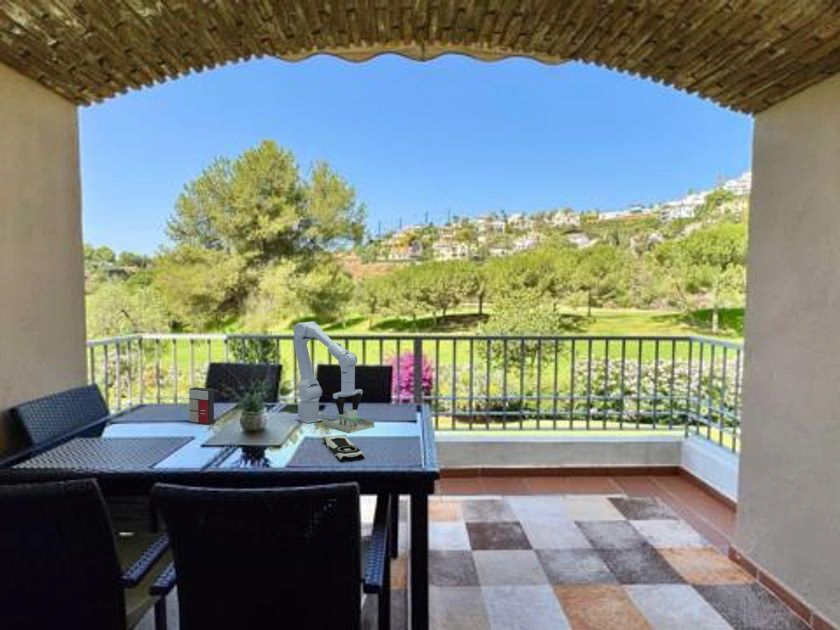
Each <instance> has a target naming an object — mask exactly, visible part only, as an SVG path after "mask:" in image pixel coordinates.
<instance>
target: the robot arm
mask: <svg viewBox="0 0 840 630" xmlns="http://www.w3.org/2000/svg"><path fill="white" fill-rule="evenodd" d="M292 331H293V335H294V336H293V346H294V351H295V355H296V359H297V360H296V361H297V365H298V369H299V375H300V378H301V381H300V383H299V384H298V397H299V399H300V401H299V402H298V405H297V418H296V419H298V420H297V421H299V420H300V422H303V423H306V424H312V423H316V422H320V421H321V422H322V420H323V419H324V418H320V415H319V414H320V413H319V412H320V409H319V408H320V407H319V406H320V403H319V402H320V401H319V400H320V397H322V394H323V389H322V387H321V386H320V383H319V381H318V380H317V379H316V378H315V376H314V371H313V367H312V363H311V359H310V358H311V357H310V353H309V347H308V342H309V341H311V339H312V338H315V339H317V340H318V341H319V342H320V343H322V344H323V345H324V346H325V347H326V348H327V349H328V350H327V351H328V353H330V355H331V356H332V357H333V358H335V359H336V360H337V362H338V365H339V367H340V373H341V375H340V376H341V377H340V378H341V379H340V381H341V383H340V385H341V386H340V387H341V391H338V392H335V393H333V394H332V399H333V402H334V403H335V405H336V408H337V411H338V414H340V415H343V412H344V409H345V408H344V407H345V402H346V399H345V397H346V398H347V397H350V398H351V402H352V404H351V407H352V408H351V409H354V410H357V411H358V409H359V405H360V403H361V400H362V399H363V389H361V388H359V389H358V388H357V389H356V388H355V385H356V384H355V382H356V380H355V378H356V377H355V376H356V375H355V372H356V367H355V365H357V363H358V358H357V357H358V356H357V355H356V354H355V353H354V352H350V351H349V350H348V349H347V348H345V347H344V346H343V345H342V343H341V342H338V341H334V340H332V339H331V338H330V336H328V335H327V333H326V332H325V331H323V330H322V328H321V326H320V325H319V324H317V322H316V321H313V320H310V321H306V322H298V323H296V324H295V326H294V327H293V329H292Z"/></svg>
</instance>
